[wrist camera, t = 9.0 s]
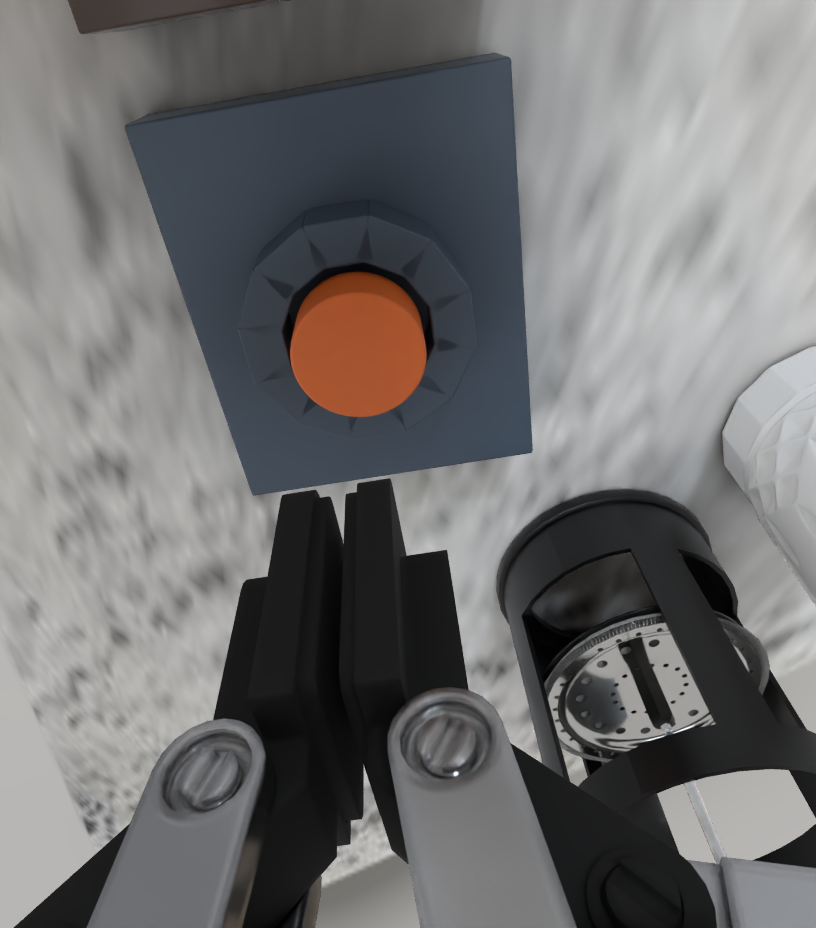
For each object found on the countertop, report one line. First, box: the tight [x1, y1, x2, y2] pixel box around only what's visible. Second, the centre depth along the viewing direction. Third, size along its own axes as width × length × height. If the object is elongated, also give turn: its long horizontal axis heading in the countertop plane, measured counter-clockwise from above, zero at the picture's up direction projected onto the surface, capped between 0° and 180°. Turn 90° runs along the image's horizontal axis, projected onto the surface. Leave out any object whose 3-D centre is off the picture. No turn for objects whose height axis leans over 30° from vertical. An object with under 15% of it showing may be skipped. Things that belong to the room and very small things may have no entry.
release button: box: [290, 272, 427, 417], centre depth 19 cm, size 4×4×2 cm
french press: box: [497, 490, 816, 868], centre depth 21 cm, size 12×9×23 cm
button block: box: [125, 53, 533, 495], centre depth 21 cm, size 12×10×4 cm
